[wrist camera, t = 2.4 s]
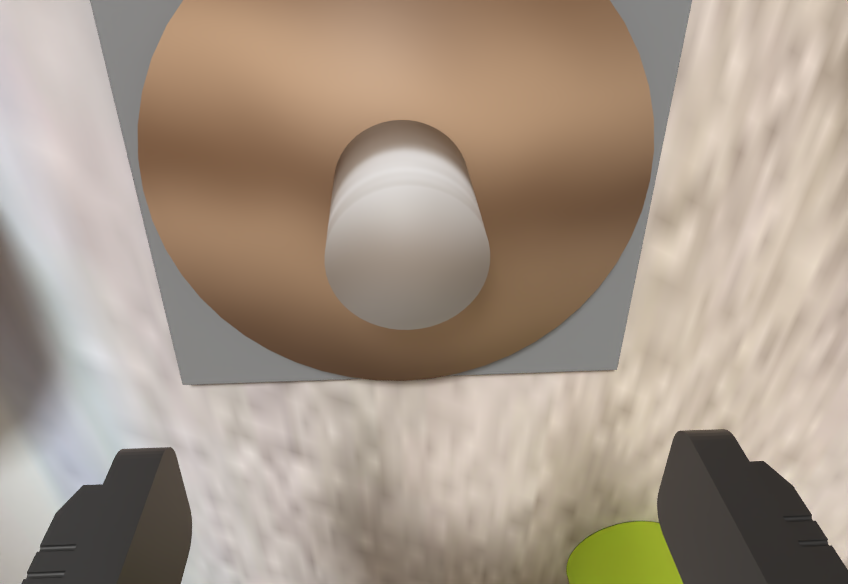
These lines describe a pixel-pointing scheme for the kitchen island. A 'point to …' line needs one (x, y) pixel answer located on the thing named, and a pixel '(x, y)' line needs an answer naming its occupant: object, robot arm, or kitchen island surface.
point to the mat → (250, 362)
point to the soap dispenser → (624, 557)
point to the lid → (395, 171)
